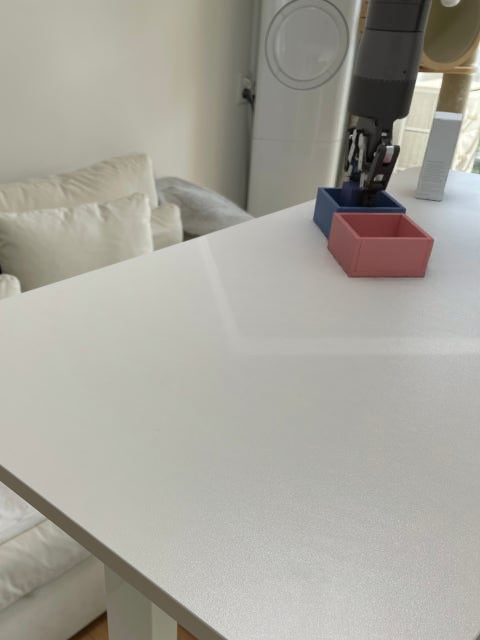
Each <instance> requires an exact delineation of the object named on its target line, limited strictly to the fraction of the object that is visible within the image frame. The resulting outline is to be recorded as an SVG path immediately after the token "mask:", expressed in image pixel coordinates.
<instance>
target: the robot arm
mask: <svg viewBox="0 0 480 640" xmlns="http://www.w3.org/2000/svg"><path fill="white" fill-rule="evenodd" d="M432 3H433V0H368V2H367V9H366V14H365V20H364V24H363V27H364V28H363V30H362V35H361V38H360V41H359V45H358V48H357V53H356V57H355V62H354V69H353V75H352V80H351V85H350V91H349V97H348V102H347V107H346V108H347V109H346V110H347V112H348V113H349V114H350V115H351V116H354V117H356V118H358V119H357V121H356V124H349V125H347V128H346V138H345V148H344V149H345V151H344V160H343V162H344V163H343V172H344V173H346V179H347V180H346V181H355V182H360V186H359V189H360V191H359V193H358V198H357V203H356V207H374V204H375V199H376V195H377V192H379V191H386V190H387V189H388V185H389V183H390V180H391V178H392V174H393V172H394V169H395V166H396V164H397V161H398V158H399V156H400V153H401V146H400V145H398V144H393V140H394V139H393V138H394V135H393V134H394V123H395V122H396V121H398V120H403V119H405V118H407V117H408V116H409V114H410V110H411V106H412V101H413V97H414V92H415V88H416V84H417V79H418V75H419V71H420V66H421V62H422V57H423V51H424V44H425V42H424V41H425V35H426V30H427V27H428V26H427V25H428V21H429V17H430V13H431V12H430V11H431V8H432Z"/></svg>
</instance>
